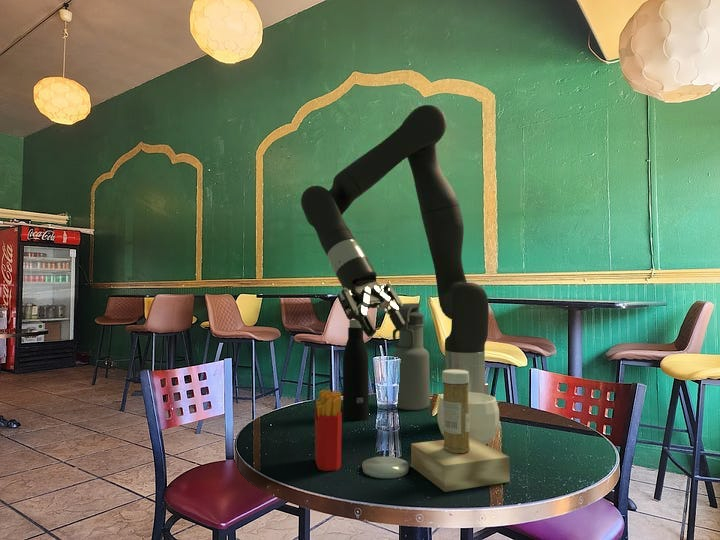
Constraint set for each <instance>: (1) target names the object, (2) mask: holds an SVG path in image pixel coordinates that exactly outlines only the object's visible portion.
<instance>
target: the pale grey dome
mask: <svg viewBox="0 0 720 540" xmlns="http://www.w3.org/2000/svg"><path fill="white" fill-rule="evenodd" d="M361 469H363V470H362V472H363V474H365V475H366V474H367V475H366V476H368V475H369V477H373V478H376V479H396V478H401V477H403V476H405V475H407V474H409V473H408V472H409V463H408V461H406V460H404V459H402V458H399V457H394V456H374V457H371V458H367V459H365V460H363V461H362V468H361Z"/></svg>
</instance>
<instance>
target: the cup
mask: <svg viewBox="0 0 720 540" xmlns="http://www.w3.org/2000/svg"><path fill="white" fill-rule="evenodd" d="M468 405H469V437H471V438H473V439H475V440H477V441H479V442H481V443H483V444H485V445H488V444H490V443H492V441H493V440H494V438H496V437H497V433H498V430H499V426H500V409H499V405H498V403H497V399H496V397H495V396H492V395H490V394H489V395H487V394H482V393H473V392H468ZM436 412H437V413H436V414H437V416H436V417H437V424H438V428H439V430H440V433H441V435H442V436H443V437H444V429H443V394H440V395H439V400H438V403H437V409H436Z"/></svg>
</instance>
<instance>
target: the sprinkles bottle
mask: <svg viewBox="0 0 720 540" xmlns="http://www.w3.org/2000/svg"><path fill="white" fill-rule="evenodd" d="M441 381H442V385H443V387H442V395H443V429H444V436H443V440H444V449H445V450H446V451H448V452H451V453H466V452H468V451H469V450H470V446H469V405H468V382H469V372H468V371H465V370H457V369H451V370H445V369H444V370H442V372H441Z"/></svg>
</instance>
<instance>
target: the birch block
mask: <svg viewBox="0 0 720 540" xmlns="http://www.w3.org/2000/svg"><path fill="white" fill-rule="evenodd" d="M469 446H470V450H469V451H468V452H466V453H451V452H448V451H446V450H445V449H444V439H438V440H430V441H422V442H413V443H411V445H410V451H411V452H410V453H411V456H410V457H411V458H410V461H411V467H412V468H413V469H414V470H416V471H417V472H418V473H419V474H420V475H422V476H423V477H424V478H426V479H427V480H428V481H430V482H431V483H432V484H434V485H435V486H437V487H438V488H439V489H440V490H442V491H443V492H445V493H446V492H452V491H453V492H454V491H459V490H466V489H472V488H478V487H485V486H492V485H497V484H498V485H499V484H503V483H510V482H511V479H510V478H511V476H510V475H511V471H510V470H511V469H510V468H511V467H510V462H511V461H510V456H508V455H507V454H505V453H503V452H501V451H500V450H499V451H498V450H497V449H495V448H492V447H491V446H489V445H488V444H483V443H481V442H479V441H477V440H475V439H473V438H471V437H469Z"/></svg>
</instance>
